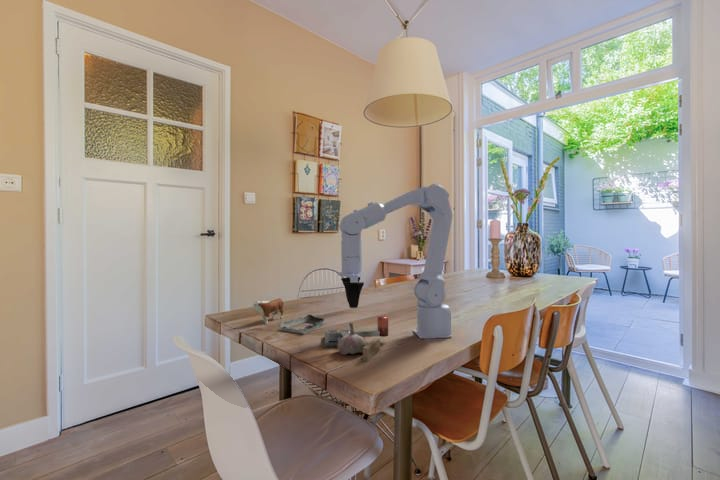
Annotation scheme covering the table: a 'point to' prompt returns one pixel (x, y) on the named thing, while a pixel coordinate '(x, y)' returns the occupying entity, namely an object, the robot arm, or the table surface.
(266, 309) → the bull figurine
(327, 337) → the base
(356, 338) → the garlic bulb
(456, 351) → the table surface
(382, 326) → the lever
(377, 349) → the bar
